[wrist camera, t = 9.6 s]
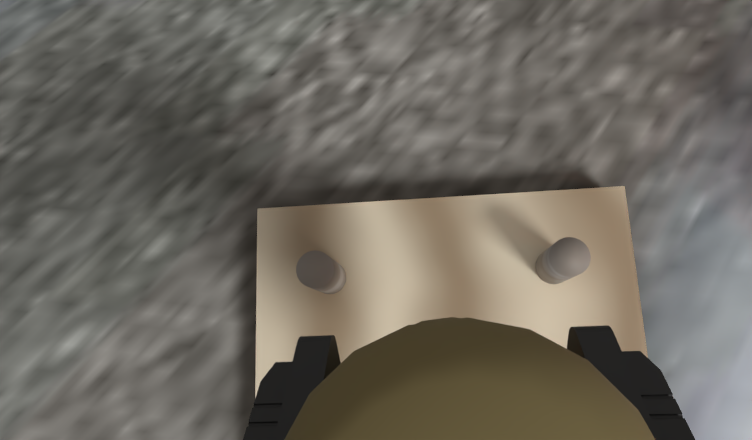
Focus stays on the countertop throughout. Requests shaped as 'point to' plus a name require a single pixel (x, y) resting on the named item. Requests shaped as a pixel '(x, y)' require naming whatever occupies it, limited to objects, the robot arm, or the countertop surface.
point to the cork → (466, 390)
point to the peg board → (445, 268)
